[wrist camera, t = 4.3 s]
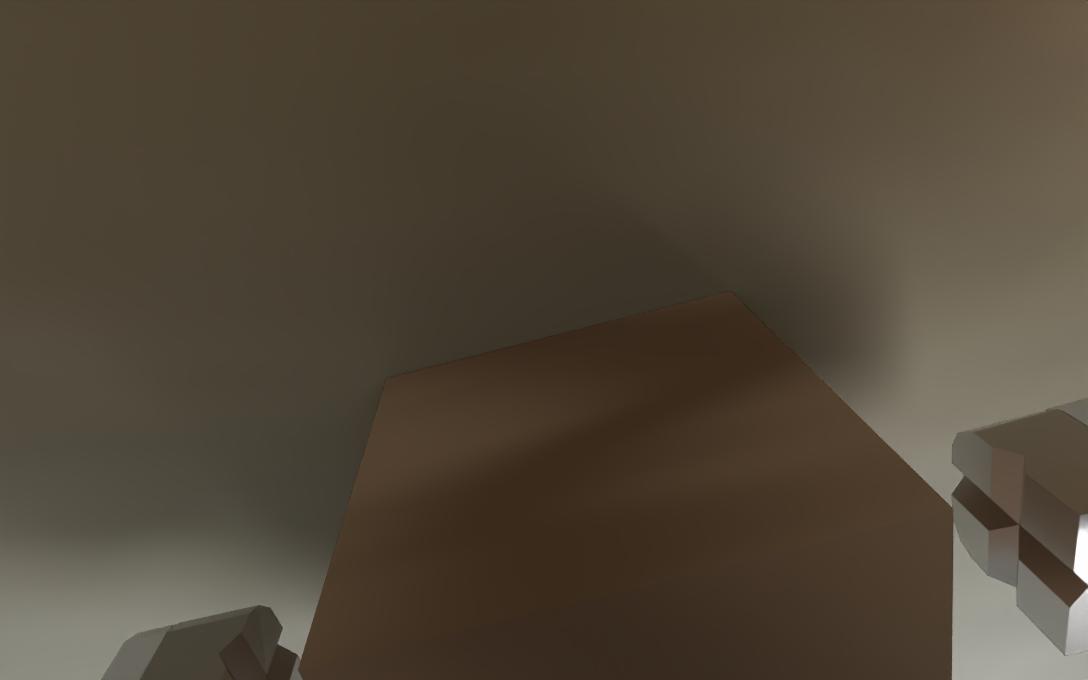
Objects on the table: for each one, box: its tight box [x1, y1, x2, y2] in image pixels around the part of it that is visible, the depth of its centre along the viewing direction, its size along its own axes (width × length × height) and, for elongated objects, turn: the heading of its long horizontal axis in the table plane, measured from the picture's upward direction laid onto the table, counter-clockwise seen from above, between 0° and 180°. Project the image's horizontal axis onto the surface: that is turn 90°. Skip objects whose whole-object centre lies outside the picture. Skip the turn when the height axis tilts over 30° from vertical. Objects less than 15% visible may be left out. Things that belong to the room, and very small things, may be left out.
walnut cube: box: [298, 291, 954, 680], centre depth 7 cm, size 4×4×4 cm
